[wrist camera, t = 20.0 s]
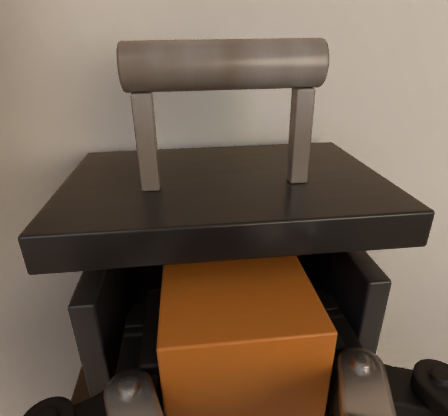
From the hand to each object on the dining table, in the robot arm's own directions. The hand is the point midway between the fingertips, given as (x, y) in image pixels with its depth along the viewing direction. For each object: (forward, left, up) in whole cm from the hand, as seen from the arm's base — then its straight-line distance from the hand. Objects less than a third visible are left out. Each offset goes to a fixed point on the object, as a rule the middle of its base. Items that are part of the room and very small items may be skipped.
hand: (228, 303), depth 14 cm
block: (0, 0, 0) cm, 0 cm away
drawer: (0, -1, -6) cm, 6 cm away
